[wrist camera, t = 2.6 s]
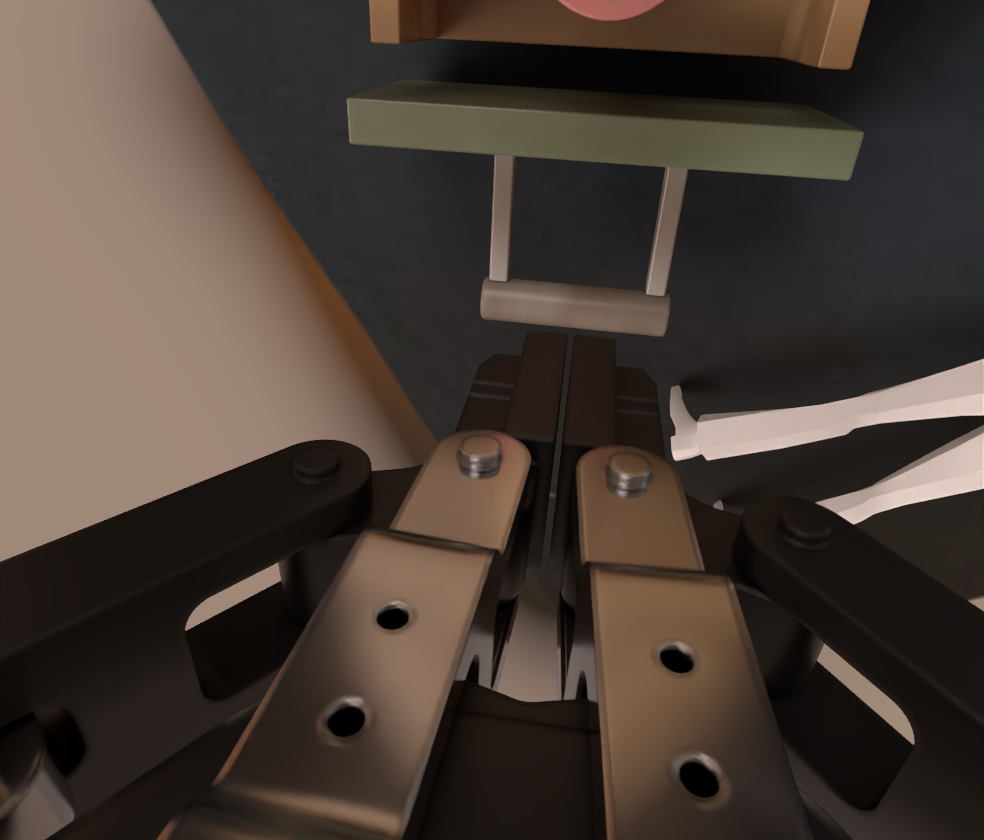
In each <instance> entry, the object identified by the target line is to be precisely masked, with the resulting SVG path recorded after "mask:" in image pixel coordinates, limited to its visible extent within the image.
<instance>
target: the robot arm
mask: <svg viewBox="0 0 984 840" xmlns="http://www.w3.org/2000/svg"><path fill="white" fill-rule="evenodd" d="M567 338H568V334H559V333H549V332H539V331H529V330H528V331H527V335H526V339H525V343H524V347H523V351H522V355H521V356H512V355H503V354H495V355H493V356H492V357H491V358H489V359H488V360H486V361H485V362H484V363H482V364H481V365H480V366H479V368H478V371H477V374H476V376H475V379H474V384H472V387H471V390H470V393H469V396H468V398H467V401H466V404H465V406H464V409H463V412H462V415H461V417H460V420H459V423H458V425H457V428H456V431H455V433H452V434H450V435H447V436H445V437H443V438H442V439H440V440H439V441H438V442H437V443H436V444H435V445H434V446H433V448H432V449H431V451H430V453H429V455H428V457H427V458H426V460H425V462H424V464H422V465H419V466H415V467H410V468H403V469H394V470H383V471H382V470H381V471H371V462H370V458H369V457H368V455H367V454H366V453H365V452H364V451H363V450H362V449H360V448H359V447H357V446H355V445H352V444H350V443H346V442H343V441H336V440H313V441H307V442H302V443H298V444H296V445H293V446H290V447H287V448H285V449H282V450H280V451H277V452H275V453H273V454H270V455H267V456H265V457H262V458H260V459H257V460H255V461H252V462H250V463H247V464H245V465H242V466H240V467H237V468H235V469H232V470H230V471H227V472H225V473H222V474H219V475H217V476H215V477H212V478H209V479H207V480H204V481H202V482H199V483H197V484H194V485H192V486H190V487H187V488H184V489H182V490H179V491H177V492H174V493H172V494H169V495H167V496H164V497H162V498H159V499H157V500H154V501H152V502H150V503H147V504H144V505H142V506H139V507H137V508H134V509H132V510H129V511H127V512H124V513H122V514H119V515H117V516H115V517H112V518H109V519H107V520H104V521H102V522H99V523H97V524H94V525H92V526H89V527H87V528H84V529H82V530H79V531H77V532H74V533H72V534H69V535H67V536H64V537H61V538H59V539H57V540H54V541H51V542H49V543H46V544H44V545H42V546H39V547H36V548H34V549H31V550H29V551H26V552H24V553H22V554H19V555H16V556H14V557H11V558H9V559H7V560H4V561H1V562H0V840H984V612H983V611H982V610H981V609H979V608H978V607H976V606H975V605H973V604H972V603H970V602H969V601H967V600H966V599H964V598H963V597H961V596H960V595H958V594H957V593H955V592H954V591H952V590H951V589H949V588H948V587H946V586H945V585H943V584H942V583H940V582H939V581H937V580H936V579H934V578H933V577H931V576H930V575H928V574H927V573H925V572H924V571H922V570H921V569H919V568H918V567H916V566H915V565H913V564H912V563H910V562H909V561H907V560H906V559H904V558H903V557H901V556H900V555H898V554H897V553H895V552H894V551H892V550H891V549H889V548H888V547H886V546H885V545H883V544H882V543H880V542H879V541H877V540H876V539H874V538H873V537H871V536H870V535H868V534H867V533H865V532H864V531H862V530H861V529H859V528H858V527H856V526H855V525H853V524H852V523H850V522H849V521H847V520H846V519H844V518H843V517H841V516H840V515H838V514H837V513H835V512H833V511H832V510H830V509H828V508H826V507H824V506H822V505H819V504H817V503H814V502H811V501H808V500H804V499H801V498H796V497H790V496H768V497H763V498H759V499H756V500H754V501H753V502H751V503H750V504H749V505H747V507H746V508H745V510H744V512H743V515H742V517H741V516H738V515H735V514H732V513H729V512H726V511H723V510H720V509H717V508H714V507H711V506H709V505H706V504H704V503H702V502H700V501H698V500H696V499H694V498H692V497H691V496H689V495H688V494H686V493H685V492H684V490H683V487H682V483H681V479H680V477H679V474H678V472H677V471H676V469H675V468H674V467H673V466H672V465H671V464H670V463H669V462H667V461H666V458H665V450H664V442H663V434H662V426H661V419H660V411H659V404H658V395H657V387H656V384H655V382H654V381H653V380H652V379H651V378H650V377H649V376H648V375H647V374H646V373H645V371H644V370H643V369H638V368H629V367H619V366H616V350H615V339H610V338H600V337H590V336H580V335H574V343H573V352H572V360H571V369H570V378H569V386H568V395H567V403H566V412H565V420H564V429H563V438H562V447H561V456H560V465H559V475H558V484H557V493H556V502H555V512H554V521H553V530H552V539H551V548H550V558H549V567H548V569H556V570H562V574H561V586H560V594H559V601H558V609H557V688H558V689H557V701H544V702H524V701H519V700H516V699H514V698H511V697H509V696H506V695H504V694H501V693H499V692H497V689H498V685H499V680H500V676H501V672H502V668H503V664H504V660H505V656H506V652H507V648H508V644H509V640H510V636H511V632H512V628H513V624H514V620H515V616H516V612H517V608H518V599H519V592H520V591H521V589H522V588H523V585H524V581H525V575H526V569H527V566H532V567H539V568H540V567H541V559H542V551H543V542H544V534H545V526H546V518H547V510H548V502H549V494H550V486H551V477H552V469H553V461H554V453H555V445H556V437H557V428H558V419H559V410H560V401H561V392H562V383H563V375H564V366H565V357H566V348H567ZM277 562H278V563H279V569H280V576H281V581H280V582H278V583H276V584H274V585H272V586H270V587H269V588H267V589H265V590H263V591H261V592H259V593H257V594H255V595H254V596H251V597H249V598H248V599H246V600H244V601H242V602H240V603H238V604H236V605H234V606H232V607H231V608H229V609H227V610H225V611H223V612H221V613H219V614H217V615H215V616H213V617H212V618H210V619H208V620H206V621H204V622H202V623H200V624H198V625H196V626H195V627H193V628H191V629H189V630H187V631H185V626H186V623H187V620H188V618H189V616H190V615H191V613H192V612H193V611H194V609H195V608H196V607H197V606H198V605H200V603H202V602H203V601H205V600H206V599H207V598H209V597H211V596H213V595H215V594H217V593H219V592H221V591H223V590H224V589H227V588H229V587H230V586H232V585H234V584H236V583H238V582H240V581H242V580H244V579H246V578H248V577H250V576H252V575H254V574H256V573H257V572H260V571H262V570H264V569H266V568H268V567H270V566H272V565H274V564H276V563H277ZM824 643H825V644H826V645H827V646H829V647H830V648H831V649H832V650H833V651H834V652H836V653H837V654H838V655H839V656H840V657H842V658H843V659H844V660H845V661H846V662H848V663H849V664H850V665H851V666H852V667H853V668H855V669H856V670H857V671H858V672H859V673H861V674H862V675H863V676H864V677H865V678H866V679H868V680H869V681H870V682H871V683H872V684H874V685H875V686H876V687H877V688H878V689H880V690H881V691H882V692H883V693H884V694H886V695H887V696H888V697H889V698H890V699H891V700H893V702H895V703H896V704H897V705H898V707H899V708H900V709H901V710H902V711H903V713H904V714H905V716H906V717H907V719H908V721H909V722H910V724H911V727H912V729H913V733H914V739H915V744H914V745H913V744H911V743H910V742H909V741H908V740H907V739H905V738H904V737H903V736H902V735H901V734H900V733H899V732H898V731H896V730H895V729H894V728H893V727H892V726H891V725H889V724H888V723H887V722H886V721H885V720H884V719H883V718H882V717H880V716H879V715H878V714H877V713H876V712H875V711H874V710H872V709H871V708H870V707H869V706H868V705H867V704H866V703H864V702H863V701H862V700H861V699H860V698H859V697H857V696H856V695H855V694H854V693H853V692H852V691H851V690H849V689H848V688H847V687H846V686H845V685H844V684H843V683H842V682H840V681H839V680H838V679H837V678H836V677H835V676H834V675H832V674H831V673H830V672H829V671H828V670H827V669H826V668H824V667H823V666H822V665H821V664H820V663H819V662H818V661H817V658H818V656H819V654H820V651H821V650H822V647H823V645H824Z"/></svg>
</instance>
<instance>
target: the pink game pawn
mask: <svg viewBox="0 0 984 840" xmlns="http://www.w3.org/2000/svg"><path fill="white" fill-rule="evenodd" d="M558 1H560V2H561V3H562V4H563V5H564V6H566V7H567V8H569V9H570V10H572V11H574V12H576V13H578V14H580V15H582V16H585V17H588V18H592V19H596V20H604V21H614V20H623V19H628V18H632V17H635V16H638V15H641V14H643V13H645V12H647V11H649V10H651V9H653V8H654V7H656V6H657V5H659V4H660V3H662V2H663V1H665V0H558Z"/></svg>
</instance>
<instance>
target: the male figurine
mask: <svg viewBox="0 0 984 840" xmlns="http://www.w3.org/2000/svg"><path fill="white" fill-rule="evenodd" d="M670 415H671V418H672V420H673V422H674V424H675V427H676V435H675V436H673V437H671V449H672V454H673V458H674V460H676V461H678V460H683V459H688V458H692V457H695V456H698V455H700V454H702V455H703V456H704V457H705V458H706V460H713V459H719V458H725V457H731V456H737V455H744V454H750V453H756V452H762V451H768V450H774V449H781V448H786V447H791V446H795V445H800V444H805V443H809V442H814V441H819V440H823V439H828V438H833V437H837V436H842V435H847V434H848V433H849V432H850V431H851V430H853V429H854V428H859V427H864V426H869V425H874V424H879V423H888V422H899V421H910V420H921V419H932V418H943V417H954V416H973V415H984V359H982V360H979V361H976V362H973V363H969V364H966V365H963V366H960V367H957V368H954V369H951V370H948V371H944V372H941V373H938V374H935V375H932V376H929V377H925V378H922V379H918V380H914V381H911V382H907V383H903V384H900V385H896V386H892V387H889V388H885V389H881V390H878V391H874V392H870V393H867V394H864V395H862V396H859V397H856V398H851V399H846V400H842V401H837V402H832V403H828V404H823V405H815V406H807V407H799V408H787V409H775V410H763V411H750V412H735V413H721V414H707V415H701V416H700V418H699V420H698V422H696V421H695V420H694V419H693V418H692V417H691V416H690V415H689V413H688V412H687V409H686V407H685V405H684V403H683V401H682V392H681V388H680V386H679V385H677V386H674V387H671V395H670ZM979 489H984V425H982V426H980V427H978V428H977V429H975V430H973V431H971V432H969V433H967V434H965V435H963V436H961V437H959V438H957V439H955V440H953V441H951V442H949V443H947V444H945V445H944V446H942V447H940V448H938V449H936V450H935V451H933V452H931V453H929V454H927V455H925V456H924V457H922V458H920V459H918V460H916V461H914V462H913V463H911V464H909V465H907V466H905V467H904V468H902V469H900V470H898V471H896V472H894V473H893V474H891V475H889V476H887V477H885V478H883V479H882V480H880V481H879V482H877V483H876V484H874V485H873V486H870V487H868V488H866V489H863V490H860V491H857V492H853V493H850V494H846V495H842V496H838V497H834V498H830V499H826V500H823V501H819V502H815V503H817V504H819V505H822V506H824V507H826V508H828V509H830V510H832V511H833V512H835V513H837V514H838V515H840V516H841V517H843V518H844V519H846V520H847V521H849V522H850V523H852V524H856V523H858V522H861V521H863V520H865V519H866V518H868V517H870V516H871V515H873V514H875V513H879V512H882V511H886V510H889V509H893V508H896V507H899V506H903V505H907V504H912V503H917V502H921V501H926V500H931V499H936V498H941V497H946V496H950V495H955V494H960V493H965V492H970V491H974V490H979ZM714 508H717V509H720V510H723V505H722V502H721V500H719V501H717V502H716V503H715V504H714Z"/></svg>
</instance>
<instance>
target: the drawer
mask: <svg viewBox="0 0 984 840" xmlns="http://www.w3.org/2000/svg"><path fill="white" fill-rule="evenodd" d="M870 1H871V0H665V1H663V2H662V3H660V4H659V5H657V6H656V7H654V8H653V9H651V10H649V11H647V12H645V13H643V14H641V15H638V16H635V17H632V18H628V19H623V20H614V21H604V20H596V19H592V18H588V17H585V16H582V15H580V14H578V13H576V12H574V11H572V10H570V9H569V8H567V7H566V6H564V5H563V4H562V3H561V2H560V1H558V0H369V6H370V28H371V41H372V42H373V43H383V44H404V43H411V42H417V41H424V40H430V39H451V40H469V41H487V42H505V43H523V44H541V45H559V46H577V47H595V48H613V49H631V50H649V51H667V52H685V53H703V54H721V55H739V56H757V57H775V58H783V59H786V60H790V61H794V62H798V63H802V64H805V65H809V66H813V67H817V68H823V69H841V70H848V69H850V68H851V67H852V63H853V60H854V56H855V53H856V49H857V46H858V42H859V39H860V35H861V32H862V29H863V25H864V22H865V18H866V15H867V11H868V8H869V4H870ZM347 112H348V128H349V141H350V143H351V144H354V145H368V146H381V147H395V148H409V149H422V150H436V151H450V152H463V153H477V154H491V155H495V157H494V180H493V204H492V228H491V251H490V275H489V276H488V277H486V278H485V279H484V282H483V286H482V293H481V316H482V318H483V319H489V320H499V321H509V322H519V323H529V324H539V325H549V326H559V327H569V328H580V329H590V330H600V331H610V332H620V333H630V334H640V335H650V336H660V337H661V336H664V334H665V332H666V329H667V325H668V320H669V314H670V295H669V294H668V293H666V287H667V282H668V277H669V271H670V266H671V261H672V255H673V250H674V245H675V239H676V234H677V229H678V223H679V218H680V213H681V208H682V202H683V197H684V192H685V186H686V181H687V176H688V170H689V169H696V170H709V171H723V172H737V173H750V174H764V175H778V176H791V177H805V178H818V179H832V180H846V181H847V180H850V178H851V175H852V172H853V169H854V166H855V163H856V159H857V156H858V153H859V150H860V147H861V143H862V140H863V137H864V132H863V131H862V130H859V129H857V128H855V127H853V126H851V125H849V124H847V123H844V122H842V121H840V120H838V119H836V118H834V117H832V116H829V115H827V114H825V113H823V112H821V111H819V110H817V109H814V108H812V107H810V106H808V105H806V104H791V103H775V102H758V101H742V100H726V99H710V98H694V97H678V96H662V95H646V94H630V93H614V92H598V91H582V90H566V89H550V88H534V87H518V86H502V85H486V84H470V83H454V82H438V81H422V80H406V79H403V80H400V81H397V82H394V83H391V84H388V85H385V86H382V87H379V88H376V89H372V90H369V91H366V92H363V93H360V94H357V95H354V96H351V97H348V98H347ZM516 156H518V157H532V158H545V159H559V160H573V161H586V162H600V163H614V164H627V165H641V166H655V167H666V169H665V175H664V180H663V186H662V192H661V198H660V204H659V210H658V216H657V222H656V227H655V233H654V239H653V245H652V251H651V257H650V263H649V268H648V274H647V280H646V286H645V289H646V291H641V290H630V289H619V288H608V287H597V286H586V285H576V284H565V283H554V282H543V281H532V280H521V279H510V278H509V275H510V258H511V241H512V224H513V207H514V190H515V173H516Z"/></svg>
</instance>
